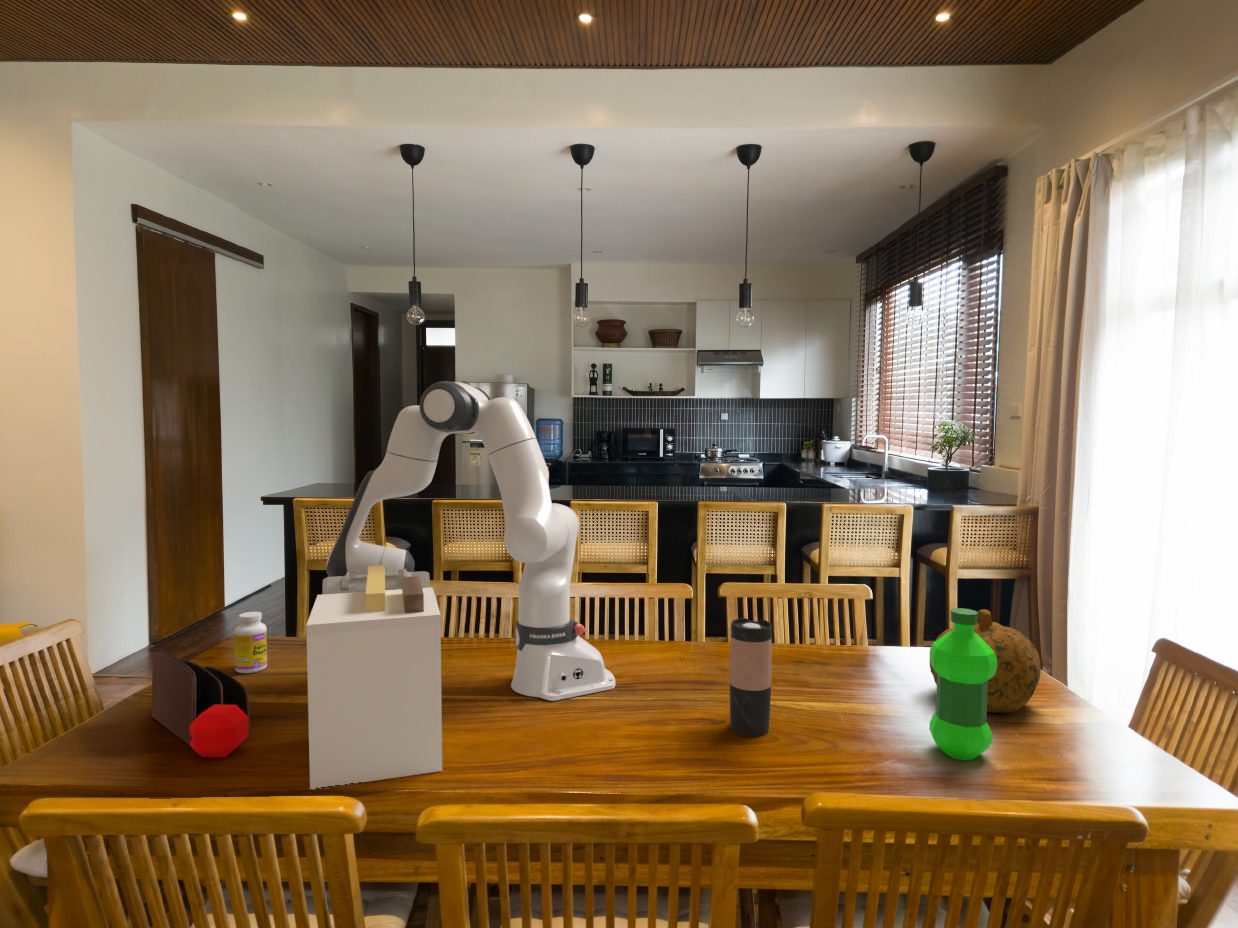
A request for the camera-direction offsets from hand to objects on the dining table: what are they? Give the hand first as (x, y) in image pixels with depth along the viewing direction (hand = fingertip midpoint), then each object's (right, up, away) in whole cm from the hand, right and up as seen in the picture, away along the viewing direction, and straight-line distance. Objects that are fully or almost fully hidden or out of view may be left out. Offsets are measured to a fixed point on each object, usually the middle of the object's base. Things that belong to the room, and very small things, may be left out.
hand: (376, 574), depth 138 cm
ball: (-23, -29, -13) cm, 39 cm away
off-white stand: (+5, -29, -13) cm, 32 cm away
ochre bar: (+3, -2, -8) cm, 9 cm away
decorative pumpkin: (+121, -28, +10) cm, 125 cm away
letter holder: (-33, -28, -2) cm, 43 cm away
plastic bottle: (+105, -29, -13) cm, 110 cm away
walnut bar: (+11, -3, -14) cm, 18 cm away
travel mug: (+71, -29, -3) cm, 76 cm away
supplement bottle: (-38, -26, +28) cm, 54 cm away
